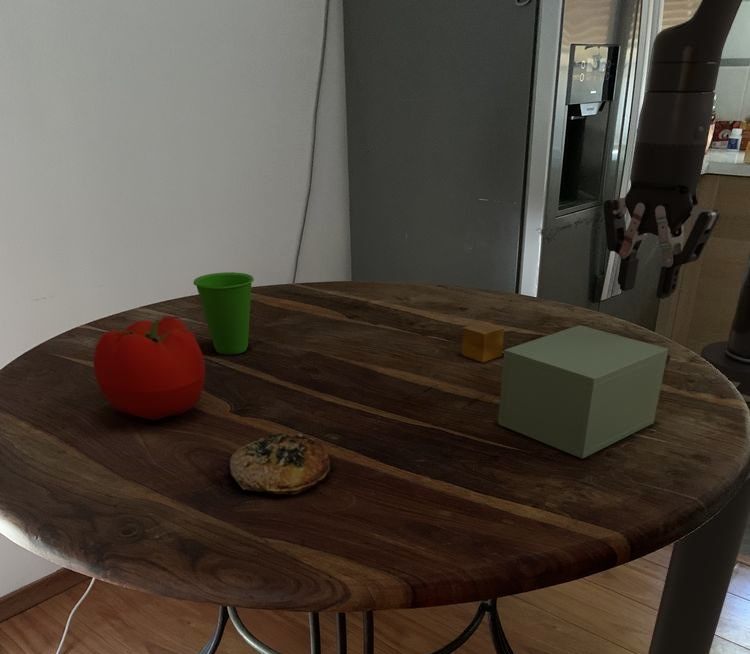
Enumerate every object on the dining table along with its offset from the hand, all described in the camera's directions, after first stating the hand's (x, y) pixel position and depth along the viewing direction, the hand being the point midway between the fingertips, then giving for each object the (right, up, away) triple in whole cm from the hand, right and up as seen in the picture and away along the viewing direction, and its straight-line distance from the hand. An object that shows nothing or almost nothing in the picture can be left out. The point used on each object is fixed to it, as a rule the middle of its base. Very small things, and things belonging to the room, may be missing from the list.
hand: (644, 292), depth 90 cm
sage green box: (-8, -16, +1) cm, 18 cm away
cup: (-56, -2, +27) cm, 62 cm away
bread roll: (-43, -23, -9) cm, 50 cm away
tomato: (-61, -14, +6) cm, 63 cm away
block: (-17, -3, +23) cm, 29 cm away
